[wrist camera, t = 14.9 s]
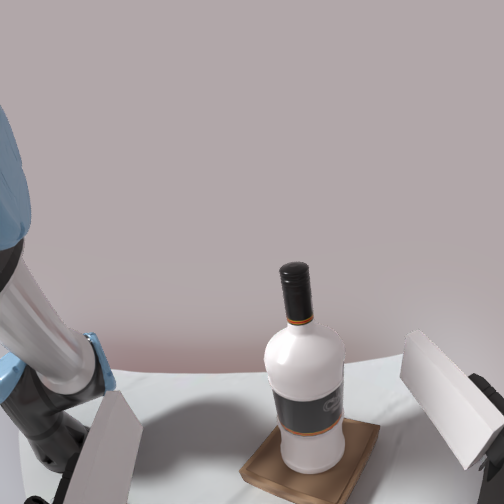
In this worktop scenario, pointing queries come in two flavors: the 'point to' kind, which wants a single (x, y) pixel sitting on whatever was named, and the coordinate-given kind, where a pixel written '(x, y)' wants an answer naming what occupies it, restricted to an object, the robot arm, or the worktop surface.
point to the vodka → (306, 380)
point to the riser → (312, 485)
